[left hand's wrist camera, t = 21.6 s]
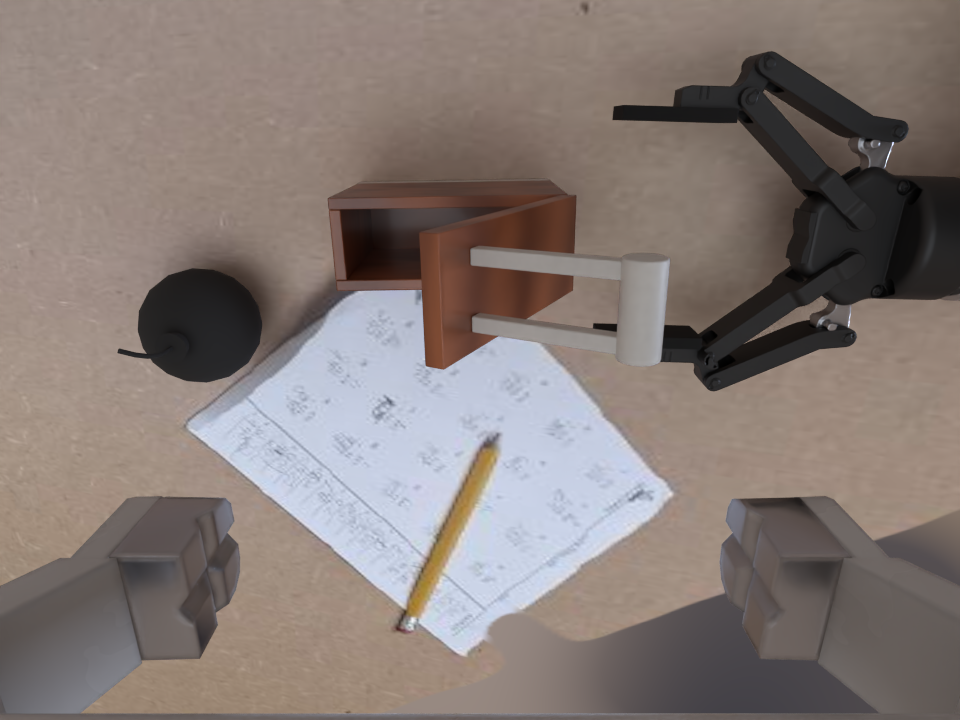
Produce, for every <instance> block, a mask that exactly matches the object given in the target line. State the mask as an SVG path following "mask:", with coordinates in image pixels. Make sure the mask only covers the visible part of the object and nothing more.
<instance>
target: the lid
mask: <svg viewBox="0 0 960 720" xmlns="http://www.w3.org/2000/svg"><path fill="white" fill-rule="evenodd" d="M575 218H576V195H560V196H556V197H552V198H548V199H544V200H540V201H537V202H533V203H529V204H525V205H521V206H517V207H514V208H510V209H506V210H502V211H498V212H495V213H491V214H487V215H483V216H479V217H475V218H472V219H468V220H464V221H460V222H456V223H452V224H449V225H445V226H441V227H437V228H433V229H430V230H426V231H422V232H419V241H420V261H421V282H422V302H423V322H424V342H425V362H426V366H428V367H433V368H438V369H446V368H447V367H449V366H450V365H452V364H454V363H455V362H457V361H459V360H460V359H462V358H463V357H465V356H467V355H468V354H470V353H472V352H473V351H475V350H477V349H478V348H480V347H481V346H483V345H485V344H486V343H488V342H490V341H491V340H493V339H494V338H496V337H498V336H501V337H507V338H513V339H520V340H526V341H532V342H539V343H545V344H552V345H558V346H564V347H571V348H577V349H584V350H590V351H596V352H603V353H609V354H615V357H616V359H617V360H618V361H619V362H621V363H623V364H626V365H631V366H639V367H644V366H653V365H656V364H658V363H659V362H660V361H661V355H662V344H663V333H664V322H665V311H666V300H667V289H668V278H669V266H670V258H669V257H667V256H664V255H660V254H654V253H632V254H627V255H624V256H623V257H622V258H620V257H608V256H596V255H584V254H574V246H575ZM573 276H581V277H591V278H601V279H611V280H620V291H619V306H618V322H617V332H613V331H606V330H599V329H592V328H585V327H577V326H570V325H563V324H556V323H549V322H542V321H534V320H527V318H529V317H530V316H532V315H534V314H535V313H537V312H538V311H540V310H542V309H543V308H545V307H547V306H548V305H550V304H552V303H553V302H555V301H556V300H558V299H560V298H561V297H563V296H565V295H566V294H568V293H569V292H571V291H573Z"/></svg>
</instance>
